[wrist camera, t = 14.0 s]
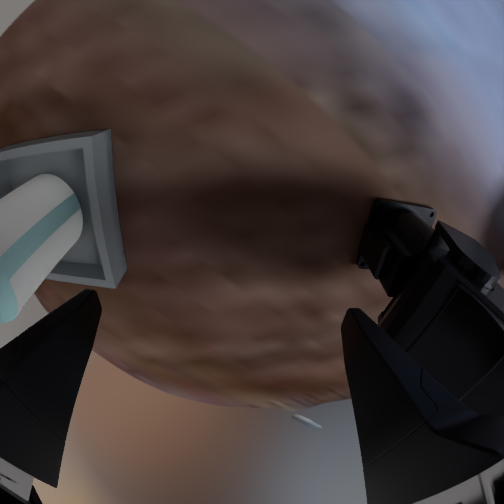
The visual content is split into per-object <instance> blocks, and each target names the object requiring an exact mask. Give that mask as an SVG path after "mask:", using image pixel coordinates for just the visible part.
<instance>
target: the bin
mask: <svg viewBox="0 0 504 504" xmlns="http://www.w3.org/2000/svg"><path fill="white" fill-rule="evenodd" d="M40 174H52V175H55V176H57V177H59V178H60V179H62V180H63V181H64V182H65V183H67V185H68V186H69V187H70V188H71V189H72V191H73V192H74V194H75V195H76V197H77V199H78V202H79V204H80V207H81V211H82V217H83V227H82V232H81V235H80V237H79V239H78V240H77V242H76V243H75V244H74V245H73V246H72V247H71V248H70V249H69V250H68V252H67V253H66V254H65V255H64V256H63V257H62V259H61V260H60V261H59V262H58V263H57V264H56V266H55V267H54V268H53V269H52V270H51V272H50V273H49V274H48V275H47V277H46V278H45V279H50V280H57V281H63V282H70V283H77V284H84V285H91V286H98V287H106V288H114V289H116V288H117V286H118V284H119V282H120V280H121V279H122V277H123V275H124V273H125V272H126V270H127V263H126V258H125V253H124V247H123V241H122V235H121V229H120V222H119V215H118V207H117V199H116V190H115V180H114V169H113V155H112V136H111V129H106V130H96V131H87V132H79V133H72V134H65V135H59V136H53V137H47V138H42V139H36V140H31V141H27V142H22V143H18V144H13V145H9V146H6V147H4V148H1V149H0V199H1V198H3V197H4V196H6V195H7V194H9V193H10V192H12V191H13V190H15V189H16V188H18V187H19V186H21V185H23V184H24V183H26V182H27V181H29V180H31V179H32V178H34V177H36V176H38V175H40Z"/></svg>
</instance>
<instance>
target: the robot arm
mask: <svg viewBox="0 0 504 504" xmlns="http://www.w3.org/2000/svg"><path fill="white" fill-rule="evenodd" d="M379 203H381V206H380V207H377V206H378V204H379ZM431 212H432V213H431ZM430 213H431V215H430ZM435 217H436V211H435V210H434V209H433V208H431V207H426V206H421V205H416V204H410V203H405V202H399V201H393V200H387V199H381V198H378V199H376V200H375V201H374V202H373V206H372V209H371V213H370V217H369V221H368V222H367V223H366V225H365V228H364V232H363V236H362V239H361V242H360V246H359V251H360V252H359V255H358V258H357V262H356V263H357V266H358V267H359V268H360V269H370V271H371V273H372V274H373V276H374V278H375V279H379V281H380V282H381V284H382V286H383V288H384V290H385V292H386V293H387V295H388V296H389V297H393V299H392V300H391V302H390V303H389V304H388V306H387V307H386V309H385V310H384V311H383V312H381V313H380V315H379V316H378V325H377V324H376V323H375V322H374V321H373V320H372V319H371V318H369V317H368V316H367V315H366V314H365V313H364V312H363V311H362V310H361V309H359V308H349V309H348V310H347V312H346V315H345V317H344V320H343V322H342V325H341V335H342V343H343V353H344V363H345V369H346V374H347V379H348V384H349V389H350V394H351V399H352V404H353V409H354V415H355V420H356V425H357V431H358V438H359V444H360V450H361V456H362V463H363V467H364V468H363V472H364V479H365V487H366V495H367V504H504V289H503V288H502V287H501V286H500V285H499V284H498V282H499V280H500V274H499V271H498V268H497V265H496V262H495V259H494V257H493V255H492V254H491V253H489V252H488V251H487V250H486V249H485V248H484V247H483V246H482V245H480V244H479V243H478V242H477V241H476V240H475V239H473V238H471V237H469V236H468V235H466V234H464V233H462V232H460V231H458V230H457V229H455V228H453V227H451V226H449V225H447V224H445V223H443V222H441V221H439V220H438V222H437V224H436V225H435V230H434V229H433V228H432V225H433V222H434V219H435ZM361 262H364V263H362V264H361ZM101 313H102V307H101V304H100V301H99V298H98V294H97V292H96V291H95V290H91V289H85V290H83V291H82V292H80V293H79V294H77V295H76V296H74V297H73V298H71V299H70V300H68V301H67V302H65V303H64V304H62V305H61V306H59V307H58V308H57V309H55V310H54V311H52V312H51V313H49V314H48V315H46V316H45V317H44V318H42V319H41V320H39V321H38V322H37V323H35V324H34V325H33V326H31V327H29V328H28V329H27V330H25V331H24V332H23V333H21V334H20V335H19V336H17V337H16V338H14V339H13V340H12V341H10V342H9V343H8V344H6V345H5V346H3V347H2V348H0V504H42V502H41V500H40V498H39V496H38V494H37V492H36V490H35V488H34V486H33V485H32V483H33V479H34V477H35V478H37V479H38V480H40V481H42V482H44V483H47V484H49V485H51V486H53V487H55V488H57V485H58V479H59V472H60V467H61V461H62V455H63V451H64V446H65V441H66V436H67V432H68V428H69V424H70V419H71V416H72V412H73V408H74V405H75V401H76V398H77V394H78V391H79V387H80V384H81V380H82V377H83V374H84V371H85V368H86V365H87V362H88V359H89V356H90V353H91V351H92V347H93V344H94V340H95V336H96V332H97V328H98V324H99V320H100V317H101Z"/></svg>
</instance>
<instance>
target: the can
mask: <svg viewBox="0 0 504 504" xmlns="http://www.w3.org/2000/svg"><path fill="white" fill-rule="evenodd" d="M82 227H83V217H82V211H81V207H80V204H79V202H78V199H77V197H76V195H75V194H74V192H73V191H72V189H71V188H70V187H69V186H68V185H67V183H65V182H64V181H63V180H62V179H60V178H59V177H57V176H55V175H52V174H40V175H38V176H36V177H34V178H32V179H31V180H29V181H27V182H26V183H24V184H23V185H21V186H19V187H18V188H16V189H15V190H13V191H12V192H10V193H9V194H7V195H6V196H4V197H3V198H1V199H0V324H3V323H7V322H11V321H13V320H14V319H15V318H16V316H17V315H18V314H19V313H20V311H21V310H22V308H23V307H24V306H25V304H26V303H27V301H28V300H29V299H30V297H31V296H32V295H33V293H34V292H35V291H36V289H37V288H38V287H39V286H40V284H41V283H42V282H43V280H44V279H45V278H46V277H47V275H48V274H49V273H50V272H51V270H52V269H53V268H54V267H55V266H56V264H57V263H58V262H59V261H60V260H61V259H62V257H63V256H64V255H65V254H66V253H67V252H68V250H69V249H70V248H71V247H72V246H73V245H74V244H75V243H76V242H77V240H78V239H79V237H80V235H81V232H82Z"/></svg>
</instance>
